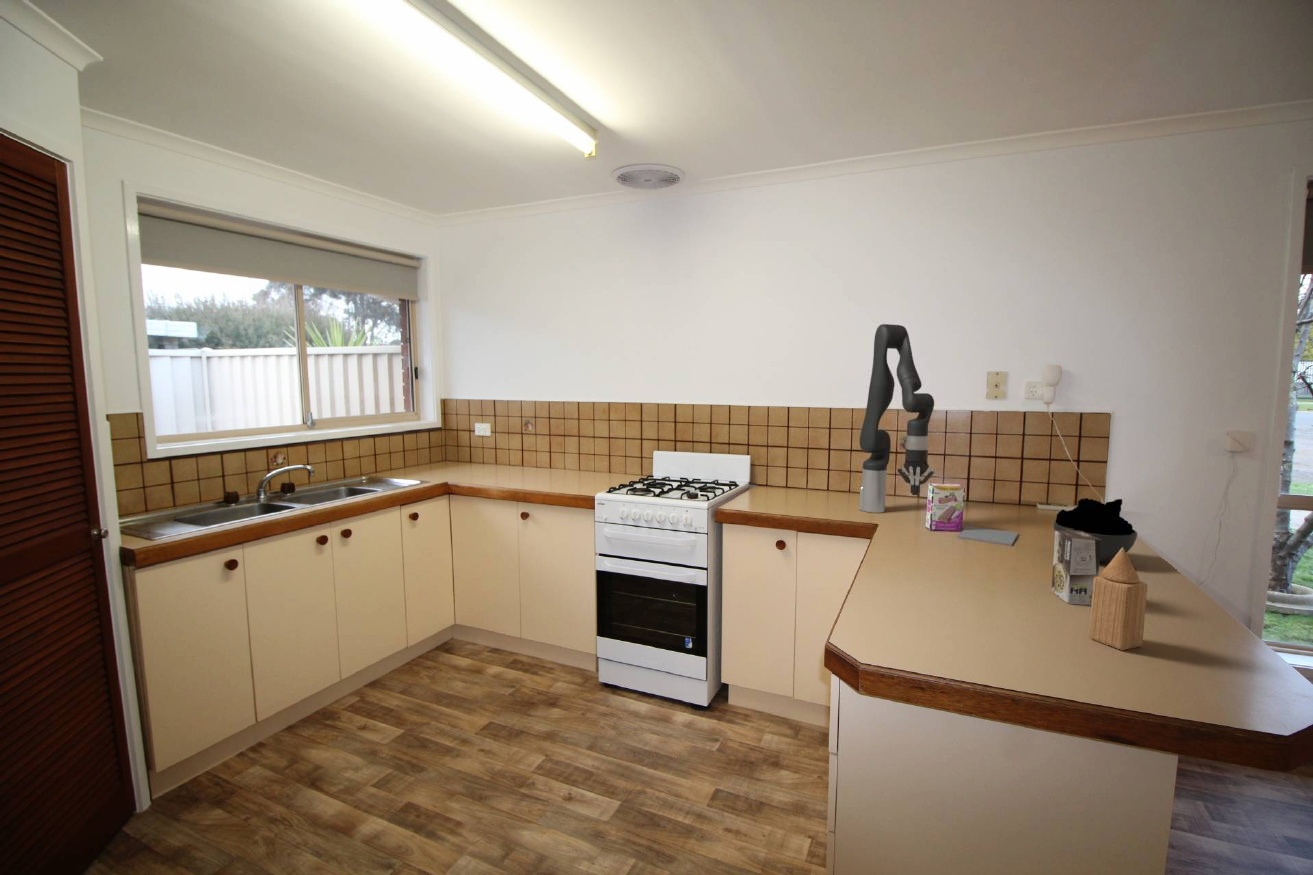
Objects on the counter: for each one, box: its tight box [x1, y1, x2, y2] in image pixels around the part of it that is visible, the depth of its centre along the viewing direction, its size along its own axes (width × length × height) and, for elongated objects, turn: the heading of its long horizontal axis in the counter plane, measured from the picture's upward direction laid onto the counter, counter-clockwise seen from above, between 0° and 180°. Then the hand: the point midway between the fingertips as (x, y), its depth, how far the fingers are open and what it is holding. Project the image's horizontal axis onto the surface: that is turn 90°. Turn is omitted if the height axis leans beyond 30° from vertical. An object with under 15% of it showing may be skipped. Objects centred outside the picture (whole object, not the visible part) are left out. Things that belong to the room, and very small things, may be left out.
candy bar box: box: [925, 483, 966, 532], centre depth 211 cm, size 11×5×16 cm, turn 84°
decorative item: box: [1088, 547, 1148, 651], centre depth 120 cm, size 7×7×20 cm
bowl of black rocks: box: [1053, 497, 1138, 563], centre depth 176 cm, size 20×20×19 cm
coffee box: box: [1051, 530, 1101, 606], centre depth 144 cm, size 9×6×16 cm
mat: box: [956, 525, 1019, 547], centre depth 204 cm, size 16×18×1 cm
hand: (915, 494), depth 217 cm, fingers closed
